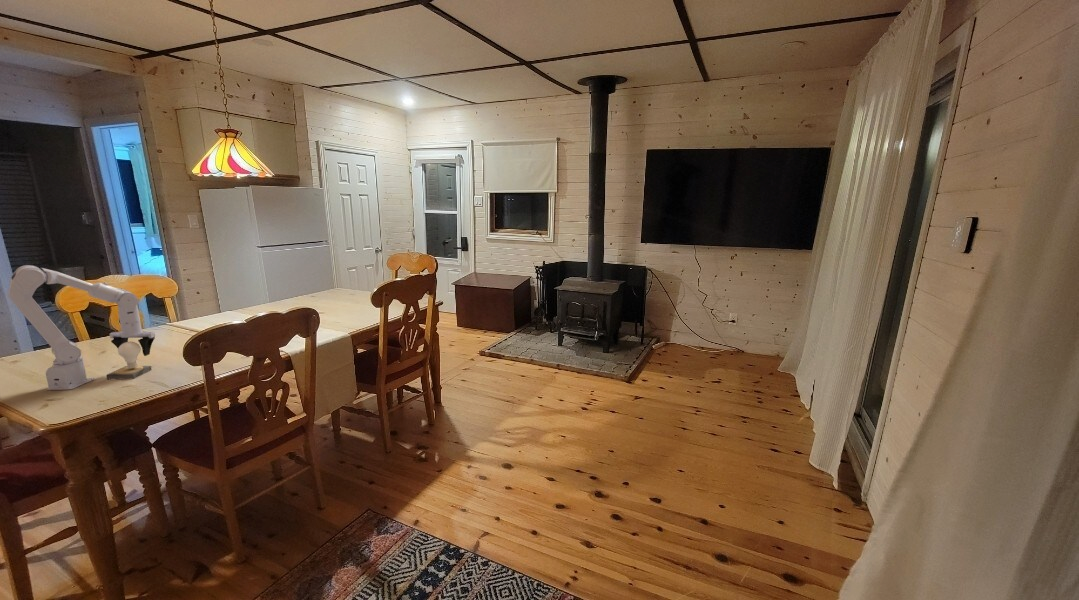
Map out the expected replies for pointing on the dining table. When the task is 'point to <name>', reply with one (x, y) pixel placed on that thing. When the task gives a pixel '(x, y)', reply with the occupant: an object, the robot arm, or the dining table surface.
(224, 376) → the dining table surface
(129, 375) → the charcoal base
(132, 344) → the lightbulb
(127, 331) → the robot arm
